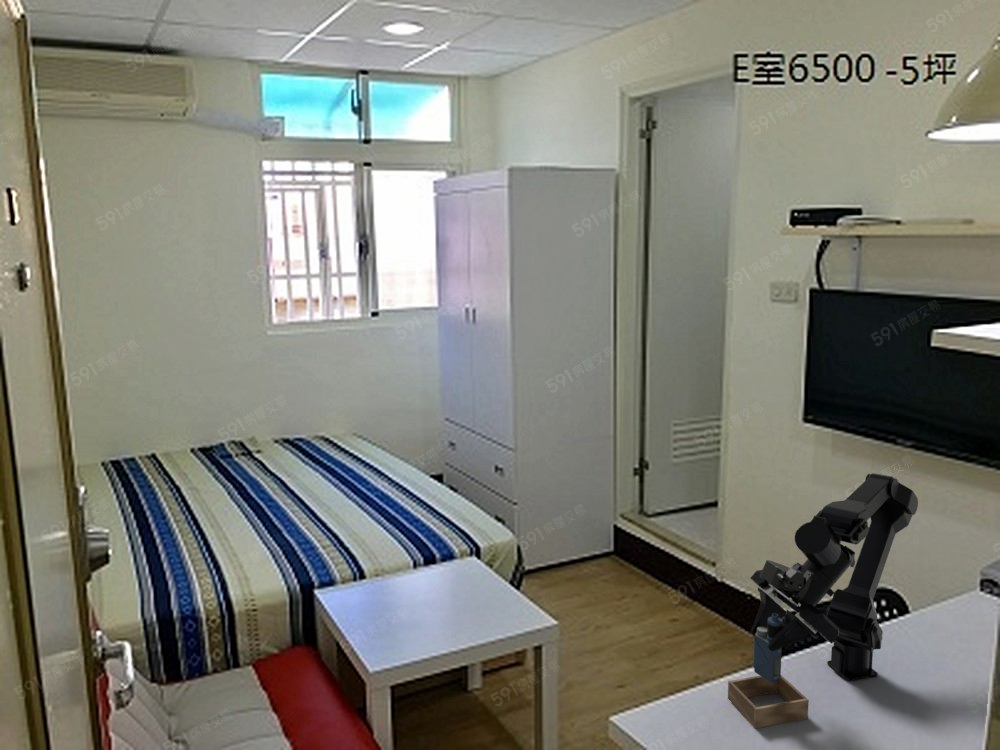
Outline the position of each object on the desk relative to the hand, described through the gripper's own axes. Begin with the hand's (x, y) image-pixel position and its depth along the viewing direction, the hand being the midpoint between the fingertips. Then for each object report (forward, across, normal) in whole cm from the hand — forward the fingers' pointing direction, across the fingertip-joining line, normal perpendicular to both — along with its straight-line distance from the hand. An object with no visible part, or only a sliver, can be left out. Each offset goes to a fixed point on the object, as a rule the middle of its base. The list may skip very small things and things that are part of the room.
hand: (760, 641), depth 135 cm
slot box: (+8, 0, +10) cm, 13 cm away
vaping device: (+4, 0, +6) cm, 7 cm away
